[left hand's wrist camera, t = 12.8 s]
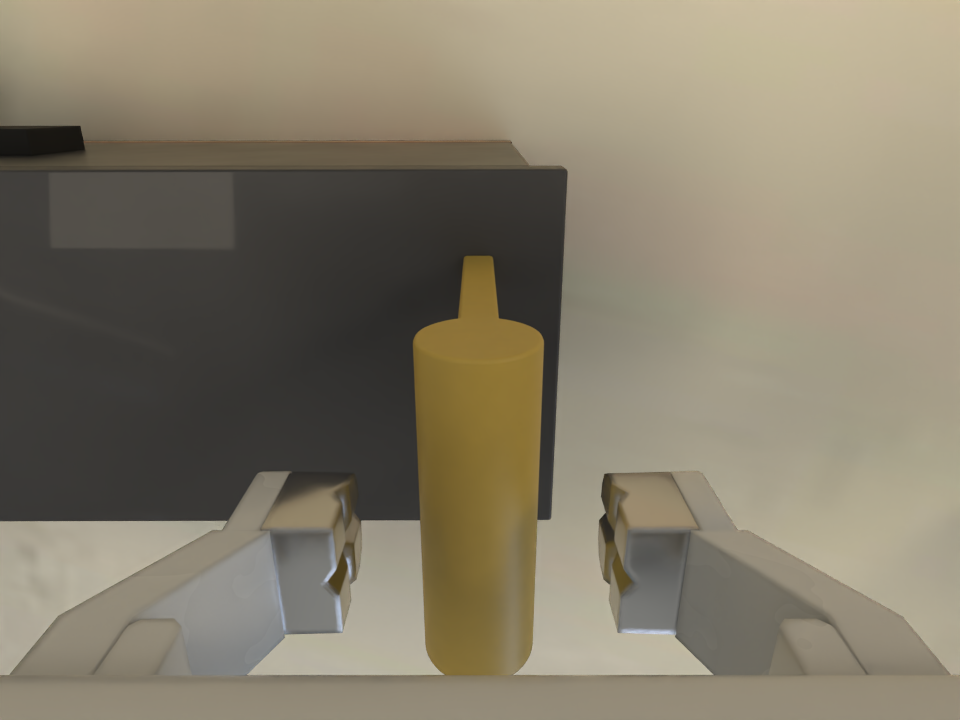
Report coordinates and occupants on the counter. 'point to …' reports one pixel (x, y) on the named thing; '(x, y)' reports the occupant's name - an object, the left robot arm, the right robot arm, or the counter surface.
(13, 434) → the lid
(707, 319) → the counter surface
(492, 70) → the counter surface
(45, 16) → the counter surface
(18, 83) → the counter surface
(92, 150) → the chest
